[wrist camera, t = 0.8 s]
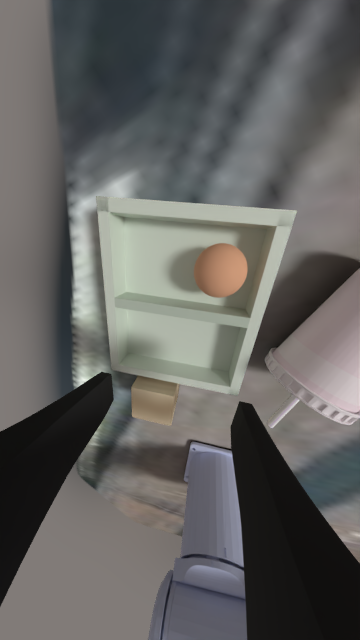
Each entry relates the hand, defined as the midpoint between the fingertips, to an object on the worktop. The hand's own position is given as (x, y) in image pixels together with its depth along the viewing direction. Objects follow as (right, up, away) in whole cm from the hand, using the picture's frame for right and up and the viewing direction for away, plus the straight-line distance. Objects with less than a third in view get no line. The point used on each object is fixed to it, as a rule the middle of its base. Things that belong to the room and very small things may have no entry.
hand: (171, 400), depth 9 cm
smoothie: (+14, +8, 0) cm, 16 cm away
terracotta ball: (+4, +8, +4) cm, 10 cm away
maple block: (-1, -2, +10) cm, 10 cm away
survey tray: (+1, +6, +6) cm, 9 cm away
